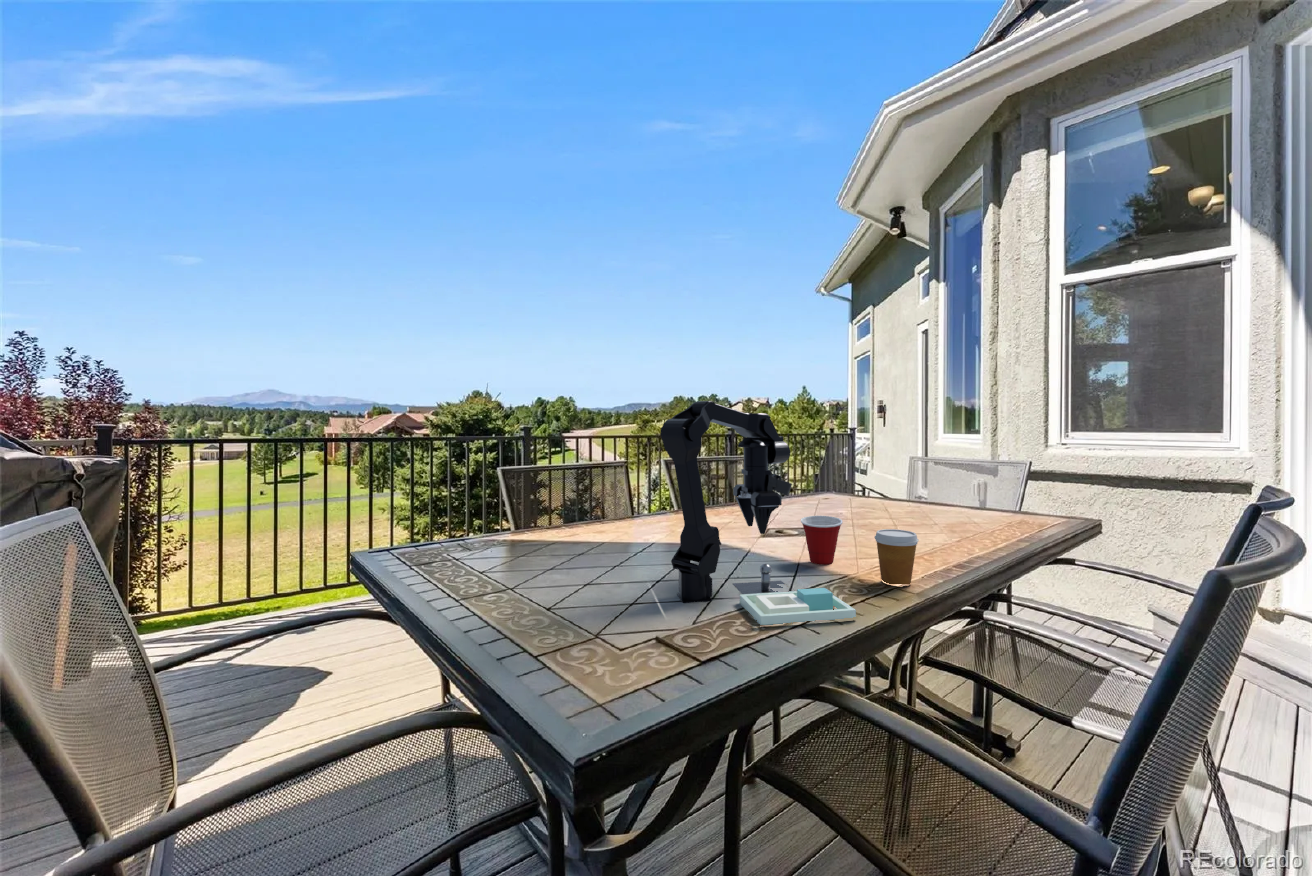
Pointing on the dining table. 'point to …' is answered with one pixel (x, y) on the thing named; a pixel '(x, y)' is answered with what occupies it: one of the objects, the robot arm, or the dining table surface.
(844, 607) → the tray
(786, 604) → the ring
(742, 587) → the peg stand
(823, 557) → the plastic cup
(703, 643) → the dining table surface
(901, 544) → the disposable coffee cup
